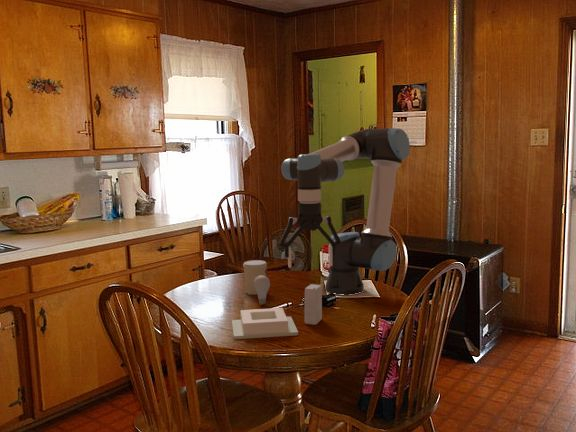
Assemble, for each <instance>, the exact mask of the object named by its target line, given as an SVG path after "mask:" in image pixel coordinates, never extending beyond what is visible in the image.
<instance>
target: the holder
mask: <svg viewBox="0 0 576 432" xmlns="http://www.w3.org/2000/svg"><path fill="white" fill-rule="evenodd" d="M231 329H232V336H233V340H243V339H259V338H260V339H261V338H276V337H289V336H290V337H291V336H292V337H293V336H299V331H298V328H297V327H296V323H295V322H294V319H293V318H292V316H287V315H286V312H285V311H284V308H283V307H274V308H271V307H270V308H258V309H257V308H256V309H255V308H254V309H241V310H240V319H231Z"/></svg>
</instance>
